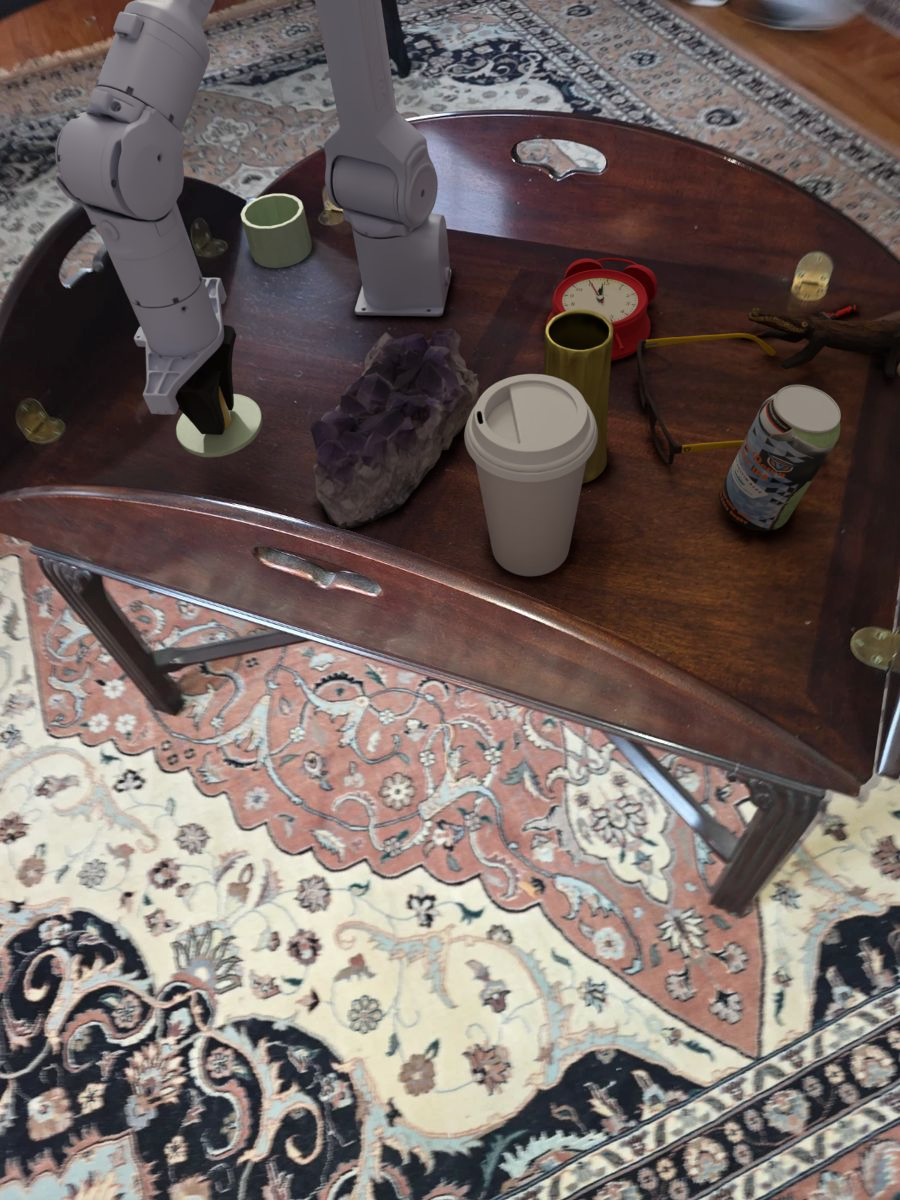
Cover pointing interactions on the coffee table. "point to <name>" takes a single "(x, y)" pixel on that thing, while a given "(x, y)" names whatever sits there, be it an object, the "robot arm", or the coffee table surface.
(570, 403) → the coffee cup
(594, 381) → the vase
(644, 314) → the alarm clock
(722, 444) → the eyeglasses
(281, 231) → the tin
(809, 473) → the beverage can
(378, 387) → the geode
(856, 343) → the toy
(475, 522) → the coffee table surface
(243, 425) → the lid
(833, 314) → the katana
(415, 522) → the coffee table surface
